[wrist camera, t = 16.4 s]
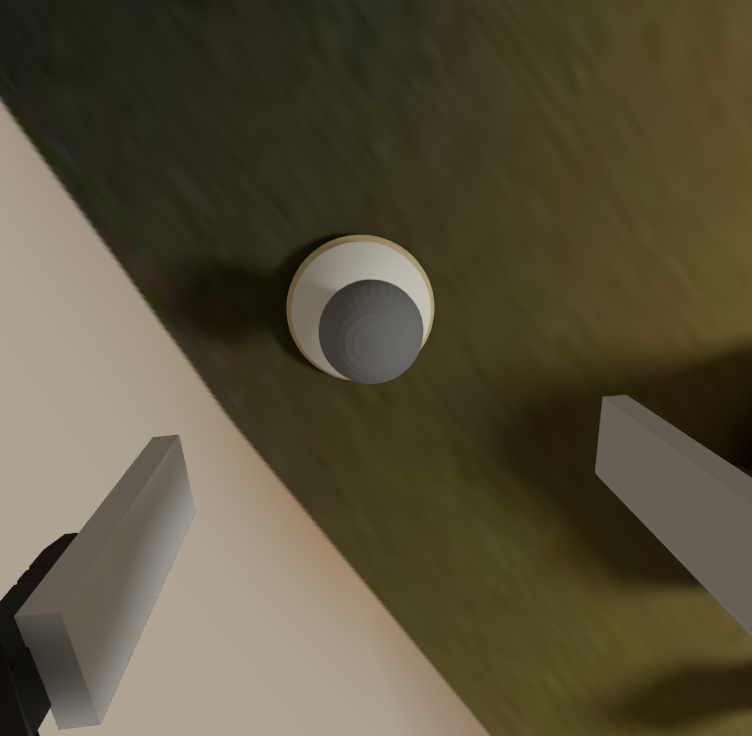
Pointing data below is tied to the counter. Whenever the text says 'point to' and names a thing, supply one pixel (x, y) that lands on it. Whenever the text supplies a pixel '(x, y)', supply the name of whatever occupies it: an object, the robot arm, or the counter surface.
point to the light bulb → (370, 331)
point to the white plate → (345, 266)
